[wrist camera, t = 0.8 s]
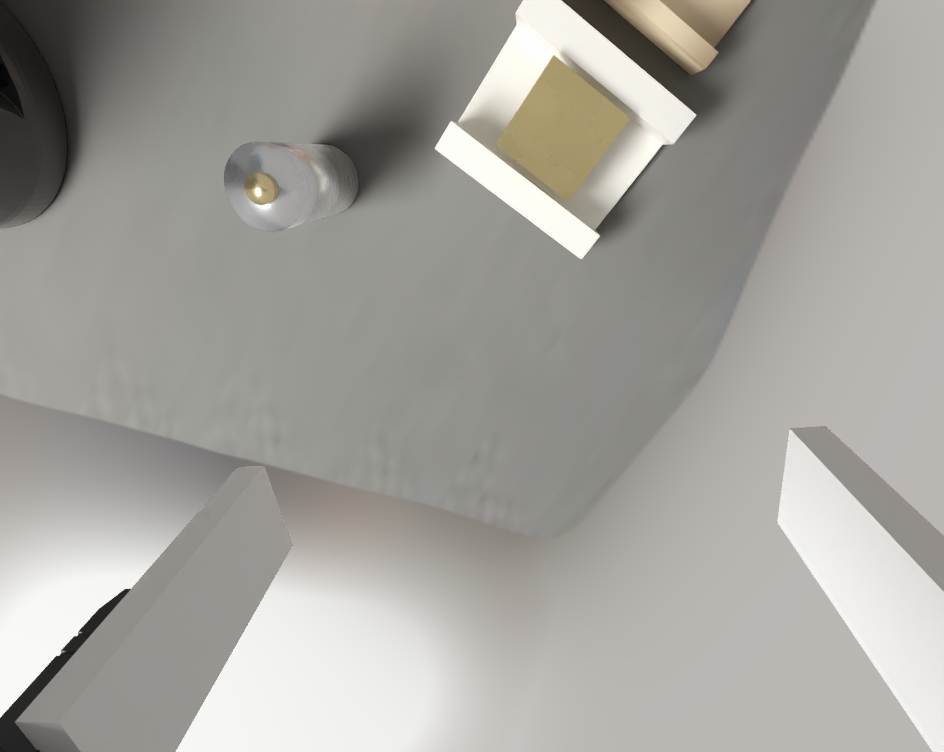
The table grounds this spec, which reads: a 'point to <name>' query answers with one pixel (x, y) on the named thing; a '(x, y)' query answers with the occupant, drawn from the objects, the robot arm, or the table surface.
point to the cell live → (288, 183)
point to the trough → (682, 26)
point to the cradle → (507, 85)
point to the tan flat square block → (562, 129)
